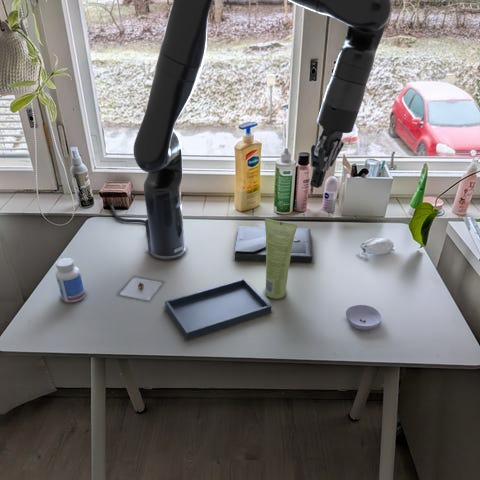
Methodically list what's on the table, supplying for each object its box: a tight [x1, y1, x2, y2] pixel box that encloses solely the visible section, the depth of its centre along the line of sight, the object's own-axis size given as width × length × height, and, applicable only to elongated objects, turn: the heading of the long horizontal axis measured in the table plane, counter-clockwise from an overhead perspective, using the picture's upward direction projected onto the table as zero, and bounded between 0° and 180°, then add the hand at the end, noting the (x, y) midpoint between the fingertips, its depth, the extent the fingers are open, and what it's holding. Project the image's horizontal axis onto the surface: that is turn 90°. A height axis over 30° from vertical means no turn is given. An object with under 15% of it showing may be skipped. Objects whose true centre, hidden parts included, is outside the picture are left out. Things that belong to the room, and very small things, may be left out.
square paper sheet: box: [118, 277, 163, 301], centre depth 124 cm, size 8×8×2 cm
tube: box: [264, 218, 298, 299], centre depth 117 cm, size 6×5×20 cm
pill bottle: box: [55, 257, 86, 303], centre depth 119 cm, size 6×5×10 cm
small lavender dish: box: [345, 304, 383, 331], centre depth 114 cm, size 8×8×2 cm
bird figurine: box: [358, 237, 396, 261], centre depth 136 cm, size 5×7×10 cm
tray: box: [164, 277, 272, 340], centre depth 117 cm, size 21×13×2 cm, turn 118°
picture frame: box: [234, 225, 313, 264], centre depth 140 cm, size 16×3×21 cm
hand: (315, 186), depth 110 cm, fingers closed
